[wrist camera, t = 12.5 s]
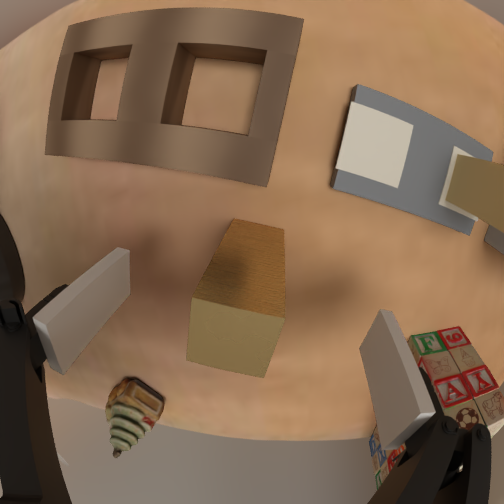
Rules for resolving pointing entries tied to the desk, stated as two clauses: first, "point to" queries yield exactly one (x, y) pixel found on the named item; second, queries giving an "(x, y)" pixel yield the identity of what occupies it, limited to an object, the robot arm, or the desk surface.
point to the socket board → (172, 89)
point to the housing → (495, 238)
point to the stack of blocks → (449, 388)
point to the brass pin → (240, 301)
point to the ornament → (131, 413)
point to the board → (417, 164)
